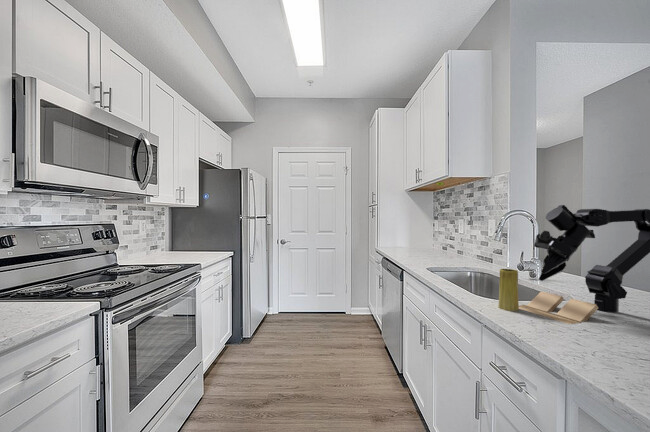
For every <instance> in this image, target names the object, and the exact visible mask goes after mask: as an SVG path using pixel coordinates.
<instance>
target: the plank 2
mask: <svg viewBox="0 0 650 432" xmlns="http://www.w3.org/2000/svg"><path fill="white" fill-rule="evenodd" d="M597 309H598V306H597V305H596V304H594V303H591V302H588V301H584V300H579V299H575V298H570V299H569V300H568V301H567V302H566V303H565V304H564V305H563V306H562V307H561V308H560V309H559V311H557V313H556V314H557V315H560V316H563V317H567V318H570V319H574V320H577V321H580V322H582V323H583V322H587V321H588V320H589V319H590V318H591V317H592V315H594V313H596V312H597V311H598V310H597Z"/></svg>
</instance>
